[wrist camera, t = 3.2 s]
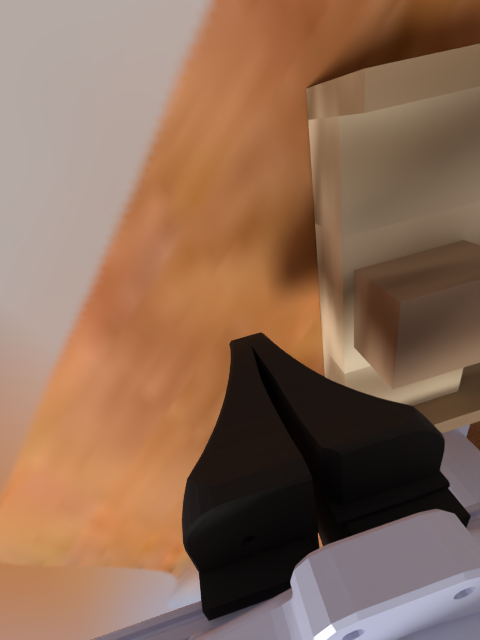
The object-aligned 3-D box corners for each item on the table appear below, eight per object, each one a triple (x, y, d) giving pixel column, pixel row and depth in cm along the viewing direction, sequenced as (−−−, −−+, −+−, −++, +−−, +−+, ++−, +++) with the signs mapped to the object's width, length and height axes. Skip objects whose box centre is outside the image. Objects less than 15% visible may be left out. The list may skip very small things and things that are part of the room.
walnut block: (449, 318, 16) (505, 354, 13) (353, 347, 15) (393, 389, 13) (463, 240, 14) (534, 263, 11) (353, 270, 13) (400, 302, 11)
